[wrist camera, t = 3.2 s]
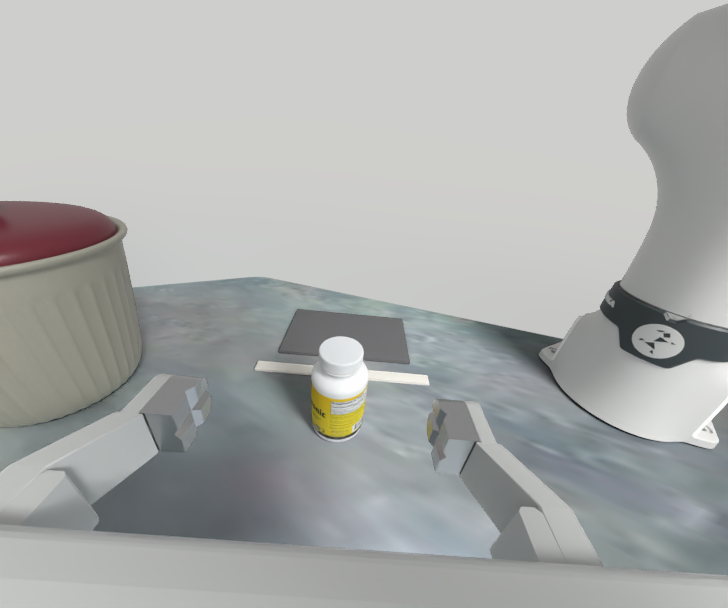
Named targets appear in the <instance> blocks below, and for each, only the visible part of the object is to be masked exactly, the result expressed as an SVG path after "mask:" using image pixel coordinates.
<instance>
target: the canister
mask: <svg viewBox="0 0 728 608" xmlns="http://www.w3.org/2000/svg"><path fill="white" fill-rule="evenodd" d="M126 234H127V227H126V225H125V224H124V223H123V222H122V221H120V220H118V219H116V218H113V217H110V216H106V215H104V214H102V213H100V212H98V211H96V210H92V209H89V208H85V207H81V206H76V205H69V204H59V203H48V202H30V201H0V427H21V426H24V425H35V424H37V423H41V422H42V423H43V422H49V421H51V420H53V419H57V418H62V417H64V416H66V415H68V414H73V413H76V412H77V411H79V410H81V409H84V408H87V407H89V406H90V405H91V404H93V403H96V402H99V401H100V400H101V399H102V398H104V397H106V396H108V395H110V394H111V393H112V392H113V391H114V390H116V389H118V388H119V387H120V386H121V385H122V384H123V383H125V382H126V381H127V379H128V378H129V377H130V376H131V375H132V374H133V372H134V370H135V369H136V368H137V366H138V363H139V361H140V358H141V354H142V339H141V333H140V327H139V321H138V315H137V309H136V304H135V299H134V294H133V290H132V285H131V280H130V275H129V270H128V265H127V261H126V256H125V252H124V248H123V243H122V239H123V238H124V237H125V236H126Z"/></svg>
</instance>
